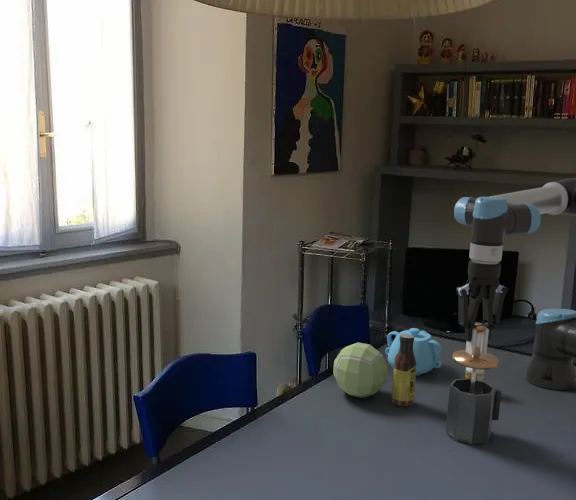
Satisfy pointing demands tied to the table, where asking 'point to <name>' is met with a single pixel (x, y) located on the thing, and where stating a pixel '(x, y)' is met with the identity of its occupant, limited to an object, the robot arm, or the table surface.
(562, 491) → the table surface
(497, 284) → the robot arm
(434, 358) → the decorative pot
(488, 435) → the press body
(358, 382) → the decorative sphere
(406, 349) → the sauce bottle
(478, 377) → the supplement bottle
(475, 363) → the plunger
